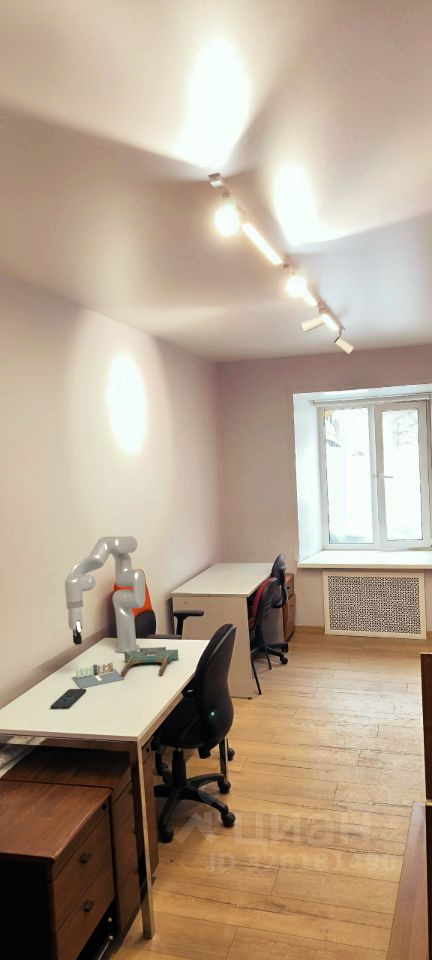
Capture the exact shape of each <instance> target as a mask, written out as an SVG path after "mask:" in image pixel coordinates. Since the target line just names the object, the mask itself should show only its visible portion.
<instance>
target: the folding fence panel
mask: <svg viewBox="0 0 432 960" xmlns="http://www.w3.org/2000/svg"><path fill="white" fill-rule="evenodd" d="M89 667H90V668H88V667H85V669H84V668H80V670H79V669H75V674H76V675H75V677H76V678H79V677H84V676H86V677H87V676H89V675H91V676H92V675H93V673H94V671H93V666H89Z"/></svg>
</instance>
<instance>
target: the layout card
mask: <svg viewBox="0 0 432 960" xmlns="http://www.w3.org/2000/svg"><path fill="white" fill-rule="evenodd" d="M72 680H73V681H74V683H75V684H76V685H77V687H78V689H88V688H91V687H95V686H96V687H97V686H100V685H107V684H110V683H114V682H119V681H123V680H124V681H125V677H121V673H120V672H118V670H117V669H115V668H113V672H110V673H109V672H106V673H105V674H103V673H101V674H100V675H96V676H94V672H93V675H92V676H91V675H89V676H87V677H86V676H84V677H79V678H76V676H73V677H72Z"/></svg>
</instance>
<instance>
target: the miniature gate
mask: <svg viewBox="0 0 432 960" xmlns="http://www.w3.org/2000/svg"><path fill="white" fill-rule="evenodd" d="M138 650H139V651H138ZM138 650H136V651H132V652H125V651H124V653H123V654H124V663H125V664H124V667H123V668H122V669H121V671H120V675H121V677H123V678H125V677H126V675H127V673H128V671H129V670H130V668H131V667H132V666H133V665H136V664H141V663H161V665H160V668H159V669H158V674H159V676H163V675H164V673H165V670H166V668H167V666H168V665H169V662H173V661H179V660H180V659H179V649H178V648H177V649H167V646H161V647H159V646H158V647H139V649H138Z"/></svg>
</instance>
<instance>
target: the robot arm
mask: <svg viewBox="0 0 432 960" xmlns="http://www.w3.org/2000/svg"><path fill="white" fill-rule="evenodd" d="M137 548H138V541H137V539H136V538H135V537H134V536H121V535H120V536H118V535H115V536H103V537H101V538H99V539H98V540H97V542H96V544H95V545H94V546H93V549H92V551H91V552H90V554H89V555H88V556H87V557H86V558H84V559H83V560H81V561H80V562H78V563H77V564H75V565H74V566H73V567H72V568H71V570H70V571H69V573H68V575H67V577H66V579H65V581H64V591H65V601H66V609H67V612H68V613H67V614H68V618H67V619H68V628H69V629H70V630H71V631H72V641H73V644H74V645H75V646H79V645H82V644H83V637H82V630H83V626H84V623H83V614H82V608H84V600H83V592H88V591H91V590H93V589H94V588H95V586H96V583H97V581H96V578H95V577H94V576H93V575H91V574H88V573H90V572H93V571H96V570H99V569H100V568H102V567H104V566H105V564H106V561H107V559H108V558H109V556H110V554H111V556H112V557H113V559H114V562H115V563H114V565H115V567H114V569H115V571H114V572H115V573H114V574H115V576H114V577H115V584H116V586H117V587H119V588H132V589H118V590H117V591H115V592H114V593H113V595H112V603H113V607H114V612H115V622H116V635H117V646H116V647H115V648H114V649H115V651H116V652H117V653H119V654H120V653H123V654H124V651H125V652H133V651H138V650H140V649H139V648H140V645H139V644H137V638H136V637H137V636H136V624H135V614H134V611H133V610H132V609H141V608H143V607H144V605H145V602H146V577H145V573H144V572H143V570H142V569H139V568H133V567H132V559H131V556H130V554H131V553H134V552H135V551H136V550H137Z"/></svg>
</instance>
